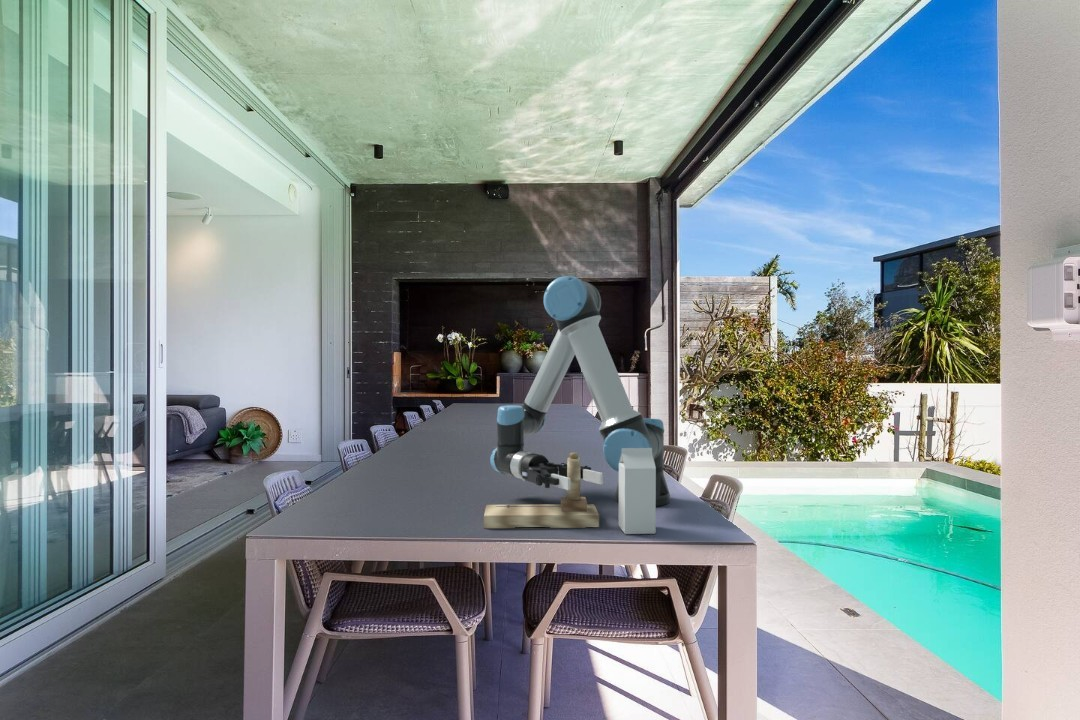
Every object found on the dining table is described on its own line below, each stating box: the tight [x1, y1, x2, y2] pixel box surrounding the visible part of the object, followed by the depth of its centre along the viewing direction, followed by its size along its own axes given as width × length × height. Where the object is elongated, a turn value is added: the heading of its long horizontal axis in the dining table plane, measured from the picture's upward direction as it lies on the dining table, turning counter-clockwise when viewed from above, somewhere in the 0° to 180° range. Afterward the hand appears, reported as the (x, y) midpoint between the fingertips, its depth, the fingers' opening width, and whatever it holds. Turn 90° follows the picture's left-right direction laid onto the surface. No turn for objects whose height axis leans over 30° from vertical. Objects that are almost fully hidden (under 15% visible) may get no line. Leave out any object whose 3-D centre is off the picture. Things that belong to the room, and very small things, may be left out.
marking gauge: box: [560, 452, 588, 512], centre depth 144 cm, size 6×4×14 cm, turn 92°
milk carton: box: [618, 448, 657, 535], centre depth 137 cm, size 7×7×19 cm
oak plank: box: [483, 503, 600, 529], centre depth 143 cm, size 27×10×3 cm, turn 92°
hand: (585, 481), depth 140 cm, fingers open, 9 cm apart
